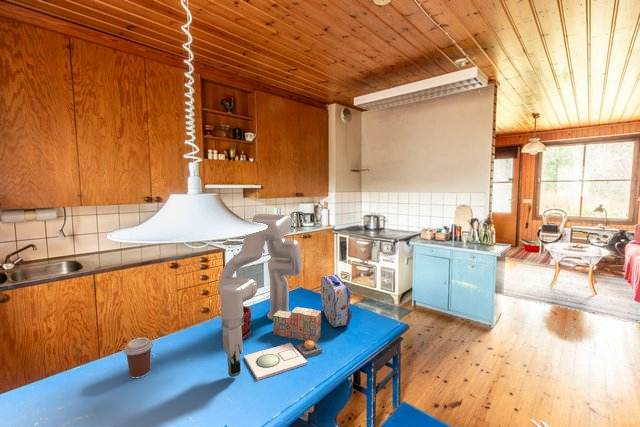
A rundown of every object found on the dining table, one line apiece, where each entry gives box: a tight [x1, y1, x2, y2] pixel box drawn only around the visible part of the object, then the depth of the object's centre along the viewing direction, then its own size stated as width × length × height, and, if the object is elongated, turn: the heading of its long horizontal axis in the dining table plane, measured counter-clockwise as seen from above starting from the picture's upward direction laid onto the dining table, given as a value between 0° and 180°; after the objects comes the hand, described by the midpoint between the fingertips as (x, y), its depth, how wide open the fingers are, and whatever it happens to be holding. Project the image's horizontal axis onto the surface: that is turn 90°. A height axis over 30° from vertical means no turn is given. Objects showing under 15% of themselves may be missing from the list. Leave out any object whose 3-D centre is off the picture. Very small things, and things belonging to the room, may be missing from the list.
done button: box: [303, 340, 315, 351], centre depth 129 cm, size 4×4×2 cm
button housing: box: [295, 341, 323, 359], centre depth 129 cm, size 8×8×2 cm
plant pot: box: [241, 305, 252, 340], centre depth 141 cm, size 13×13×12 cm
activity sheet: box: [243, 342, 308, 381], centre depth 122 cm, size 16×20×1 cm
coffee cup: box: [123, 336, 154, 378], centre depth 113 cm, size 9×9×12 cm
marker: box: [227, 356, 241, 378], centre depth 111 cm, size 4×4×10 cm
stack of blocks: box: [272, 306, 322, 344], centre depth 142 cm, size 21×6×12 cm, turn 71°
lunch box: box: [320, 274, 353, 328], centre depth 158 cm, size 28×10×22 cm, turn 15°
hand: (234, 368), depth 111 cm, fingers closed on marker, 4 cm apart
